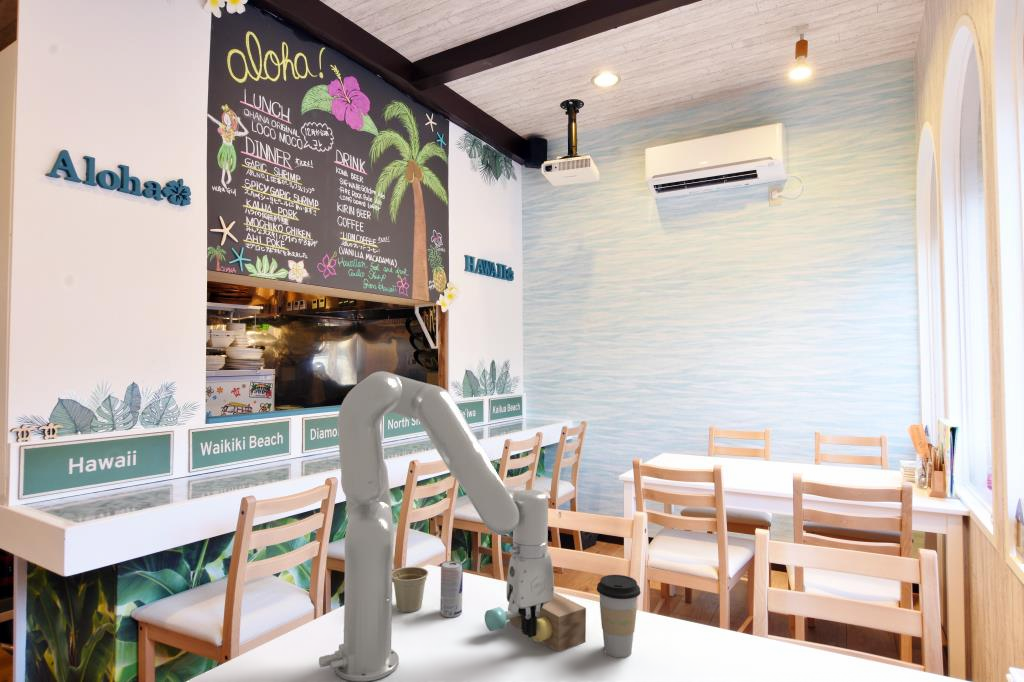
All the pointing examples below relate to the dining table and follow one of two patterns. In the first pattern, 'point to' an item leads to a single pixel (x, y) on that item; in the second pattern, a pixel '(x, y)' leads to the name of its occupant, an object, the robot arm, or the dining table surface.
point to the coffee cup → (618, 613)
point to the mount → (562, 622)
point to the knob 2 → (543, 629)
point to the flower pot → (409, 587)
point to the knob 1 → (498, 618)
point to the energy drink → (451, 589)
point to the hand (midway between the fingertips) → (528, 634)
